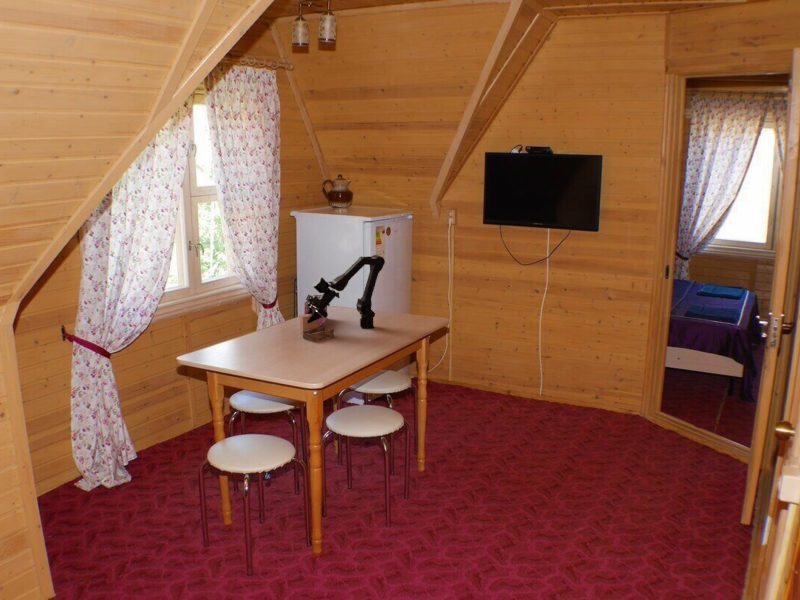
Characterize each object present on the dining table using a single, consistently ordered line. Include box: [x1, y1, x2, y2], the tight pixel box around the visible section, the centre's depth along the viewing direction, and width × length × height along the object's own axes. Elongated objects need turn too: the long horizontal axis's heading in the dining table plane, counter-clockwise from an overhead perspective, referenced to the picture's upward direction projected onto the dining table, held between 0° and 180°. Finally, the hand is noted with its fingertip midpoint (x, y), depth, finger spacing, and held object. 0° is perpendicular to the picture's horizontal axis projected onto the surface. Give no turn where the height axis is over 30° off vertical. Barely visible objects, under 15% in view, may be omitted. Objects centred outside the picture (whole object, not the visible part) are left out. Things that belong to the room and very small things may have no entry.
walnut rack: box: [302, 326, 335, 343], centre depth 374 cm, size 13×9×4 cm
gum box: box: [303, 294, 328, 328], centre depth 403 cm, size 24×8×14 cm, turn 173°
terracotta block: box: [299, 314, 318, 336], centre depth 382 cm, size 8×4×10 cm, turn 116°
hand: (306, 321), depth 381 cm, fingers closed on terracotta block, 4 cm apart
